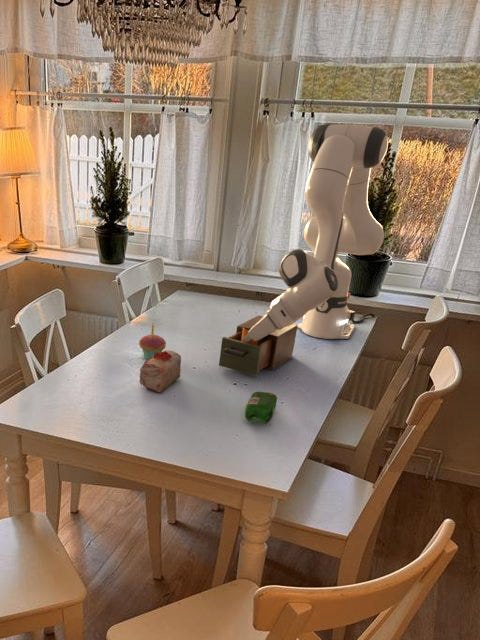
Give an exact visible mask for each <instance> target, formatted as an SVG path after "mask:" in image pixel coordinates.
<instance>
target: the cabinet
mask: <svg viewBox="0 0 480 640" xmlns="http://www.w3.org/2000/svg"><path fill="white" fill-rule="evenodd" d="M263 317H264V316H263V315H256V316H255V317H253V318H251V319H249V320H246V321H244V322H243V323H241V324H238V325H237V326H236V330H235V331H236V333H238V332H240V331H242V330H243V325H244V324H247V323H252V324H257V323H258V322H259V321H260V320H261V319H262V318H263ZM298 328H299V327H298V324H295V323H293V324H292V325H290V326H287V327H284V328H283V329H281V330H279V329H277V330H276V331H274V332H272V333H271V334H269V335H267V336H266V337H270V338H274V345H273V351H272V357H271V363H270V364H269V365H268V366H266V367H264V368H263V369H266V370H269V371H273V370H274V369H276V368H277V367H279V366H280V365H282V364H283V363H285V362H287V361H288V360H290V359H291V358H293V353H294V349H295V343H296V337H297V332H298ZM236 333H235V334H236Z"/></svg>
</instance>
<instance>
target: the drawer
mask: <svg viewBox="0 0 480 640" xmlns="http://www.w3.org/2000/svg"><path fill="white" fill-rule="evenodd" d="M242 331H243V330H242ZM242 331H240V332H238V333H234V334H232V335H230V336H228V337H226V336H223V337H221V346H220V352H219V353H220V354H219V360H218V366H219V367H222V368H225V369H226V368H227V369H230V370H232V371H236V372H240V373H243V374H246V375H250V376H253V377H256V376H258V374H259V372H260V371H261V370H263V369H265V368H264V367H266V366H268V365H269V364H270V363H271V357H272V351H273V345H274V338H270V337H266V336H265V337H263V338H262V339H260V340H258V344H257V345H253V344H249V343H246V342H242V341H241V338H242Z"/></svg>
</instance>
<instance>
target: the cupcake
mask: <svg viewBox="0 0 480 640" xmlns="http://www.w3.org/2000/svg"><path fill="white" fill-rule="evenodd" d="M154 326H155V324H154V322H152V323H151V329H150V330H151V333H150V334H147V335H145V336H142V337H141V338H140V339H139V341H138V346H139V347H140V348H141V349H142V352H143V357H144V358H145V360H148V359H149V358H150V359H149V360H151V359H152V358H154V351H155V350H156V351H157V352H158V353H159V352H163V351H164V350H166V346H167V342H166V340H165V339H164V337H162V336H160V335H158V334H154V330H155V329H154V328H155V327H154Z"/></svg>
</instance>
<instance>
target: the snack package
mask: <svg viewBox="0 0 480 640" xmlns="http://www.w3.org/2000/svg"><path fill="white" fill-rule="evenodd" d="M277 401H278V396H277V394H276V393H273V392H267V391H258V390H257V391H254V392H252V394H251V395H250V397H249V399H248V401H247V403H246V404H245V405H246V406H245V412H244V417H245V420H246V421H247V422H249V423H250V422H252V423H261V424H268V423H270V421H271V420H272V419H273V416H274V412H275V409H276V406H277Z"/></svg>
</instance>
